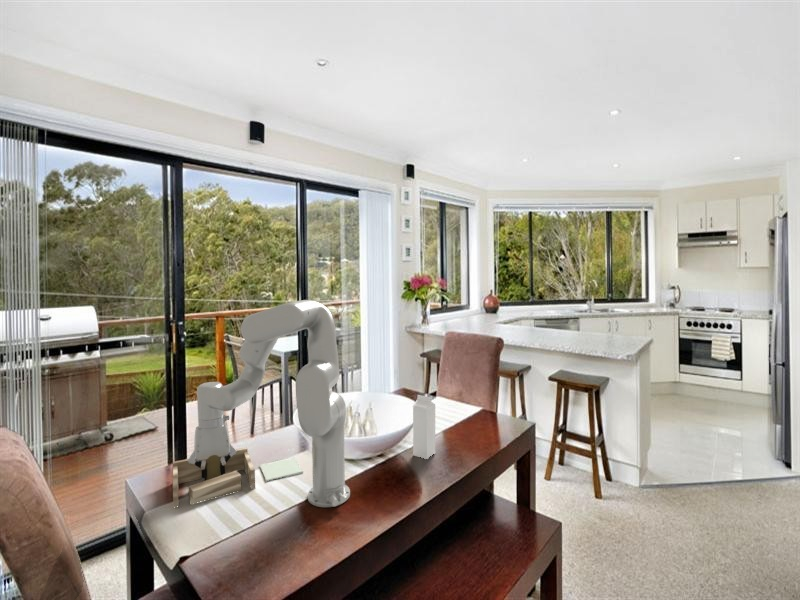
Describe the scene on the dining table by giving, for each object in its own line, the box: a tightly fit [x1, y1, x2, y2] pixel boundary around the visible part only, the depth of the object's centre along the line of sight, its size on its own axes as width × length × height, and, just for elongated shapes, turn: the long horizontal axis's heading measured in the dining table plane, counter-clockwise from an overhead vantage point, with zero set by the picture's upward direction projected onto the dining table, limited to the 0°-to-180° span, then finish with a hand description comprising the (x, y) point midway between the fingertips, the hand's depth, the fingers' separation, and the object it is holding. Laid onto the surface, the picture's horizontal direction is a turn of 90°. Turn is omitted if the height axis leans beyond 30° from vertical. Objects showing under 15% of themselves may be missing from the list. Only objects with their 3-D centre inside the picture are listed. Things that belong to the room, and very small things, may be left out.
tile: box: [259, 456, 304, 482], centre depth 140 cm, size 12×12×1 cm
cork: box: [203, 455, 221, 481], centre depth 131 cm, size 6×6×11 cm
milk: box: [412, 394, 436, 460], centre depth 151 cm, size 6×6×22 cm
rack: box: [172, 446, 256, 508], centre depth 130 cm, size 16×22×7 cm
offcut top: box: [188, 471, 242, 500], centre depth 125 cm, size 4×14×2 cm, turn 133°
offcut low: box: [188, 483, 242, 505], centre depth 125 cm, size 4×14×2 cm, turn 123°
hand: (213, 477), depth 131 cm, fingers closed on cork, 4 cm apart
